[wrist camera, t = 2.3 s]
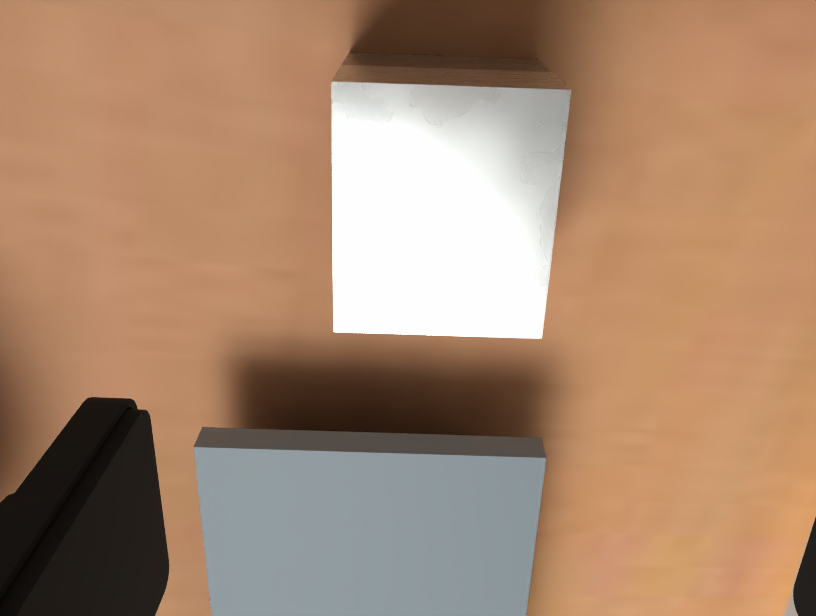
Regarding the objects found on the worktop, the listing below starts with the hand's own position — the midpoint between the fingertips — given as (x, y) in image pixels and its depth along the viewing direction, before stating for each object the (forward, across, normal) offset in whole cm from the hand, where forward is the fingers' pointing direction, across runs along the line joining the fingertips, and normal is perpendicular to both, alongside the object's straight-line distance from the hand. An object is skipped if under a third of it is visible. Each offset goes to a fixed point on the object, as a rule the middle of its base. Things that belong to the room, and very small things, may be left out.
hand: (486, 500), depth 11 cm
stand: (+17, +2, +16) cm, 23 cm away
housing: (+17, 0, 0) cm, 17 cm away
